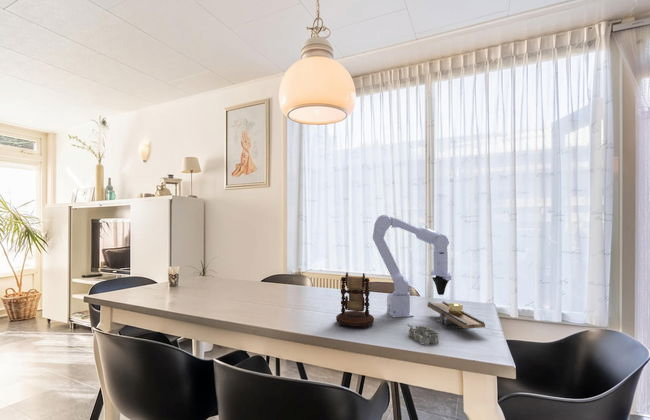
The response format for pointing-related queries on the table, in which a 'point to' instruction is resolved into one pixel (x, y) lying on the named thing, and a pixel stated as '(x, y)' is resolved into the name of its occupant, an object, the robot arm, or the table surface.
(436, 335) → the egg carton
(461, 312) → the brass weight
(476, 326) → the beam
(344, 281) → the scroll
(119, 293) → the table surface
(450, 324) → the pivot bracket
